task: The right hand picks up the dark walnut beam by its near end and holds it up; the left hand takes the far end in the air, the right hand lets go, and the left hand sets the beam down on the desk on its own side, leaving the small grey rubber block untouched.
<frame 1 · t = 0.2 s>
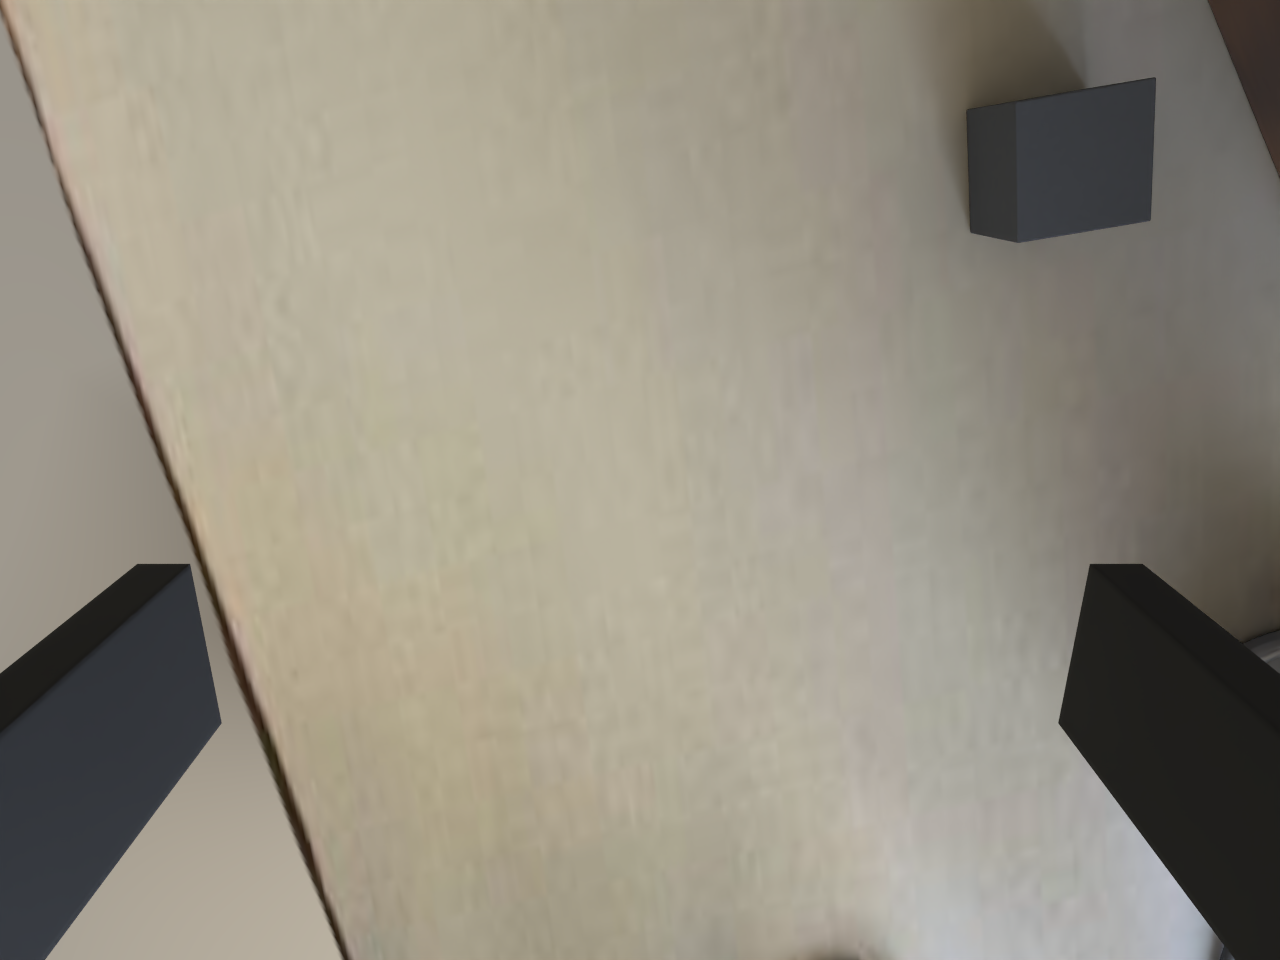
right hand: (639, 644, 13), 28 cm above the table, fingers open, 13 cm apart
grey rubber block: (1027, 162, 37), on the table
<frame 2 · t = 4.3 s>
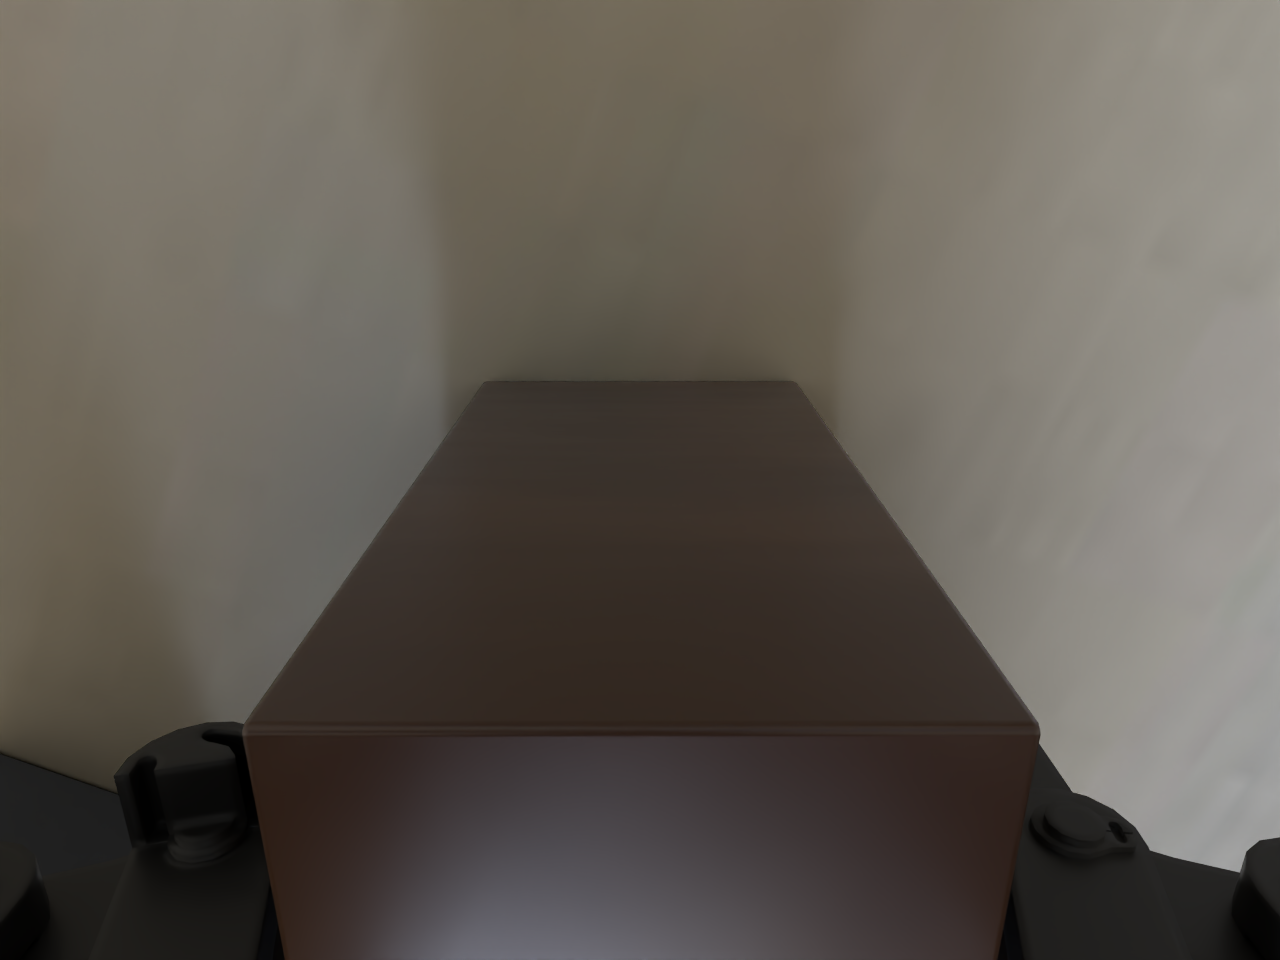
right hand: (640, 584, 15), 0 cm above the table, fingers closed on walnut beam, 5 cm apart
walnut beam: (639, 946, 18), on the table, touching right hand
grey rubber block: (89, 885, 17), on the table
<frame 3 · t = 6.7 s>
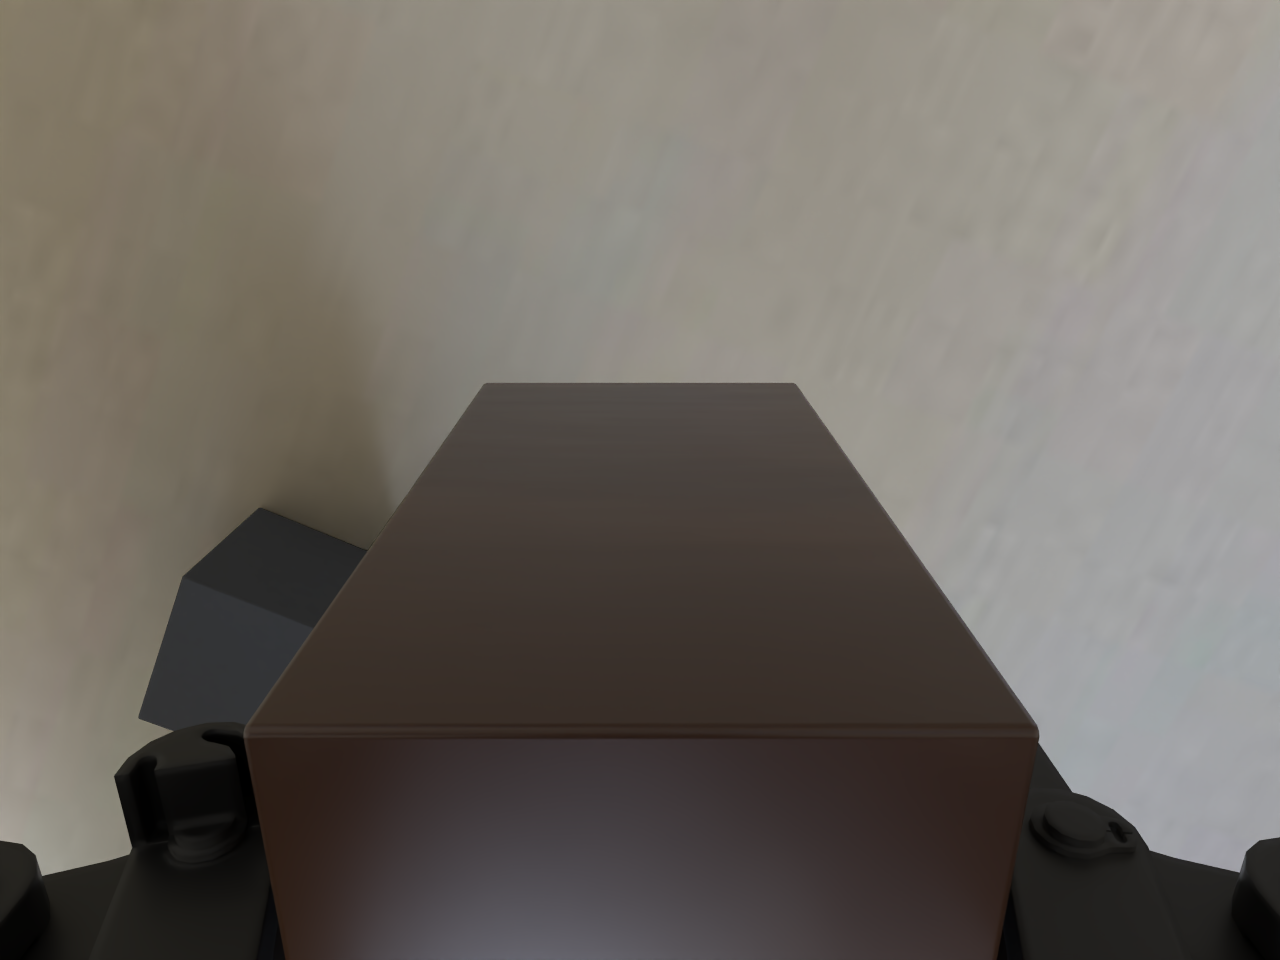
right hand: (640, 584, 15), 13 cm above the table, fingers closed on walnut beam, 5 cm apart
walnut beam: (639, 947, 18), point 12 cm above the table, touching right hand
grey rubber block: (310, 598, 29), on the table
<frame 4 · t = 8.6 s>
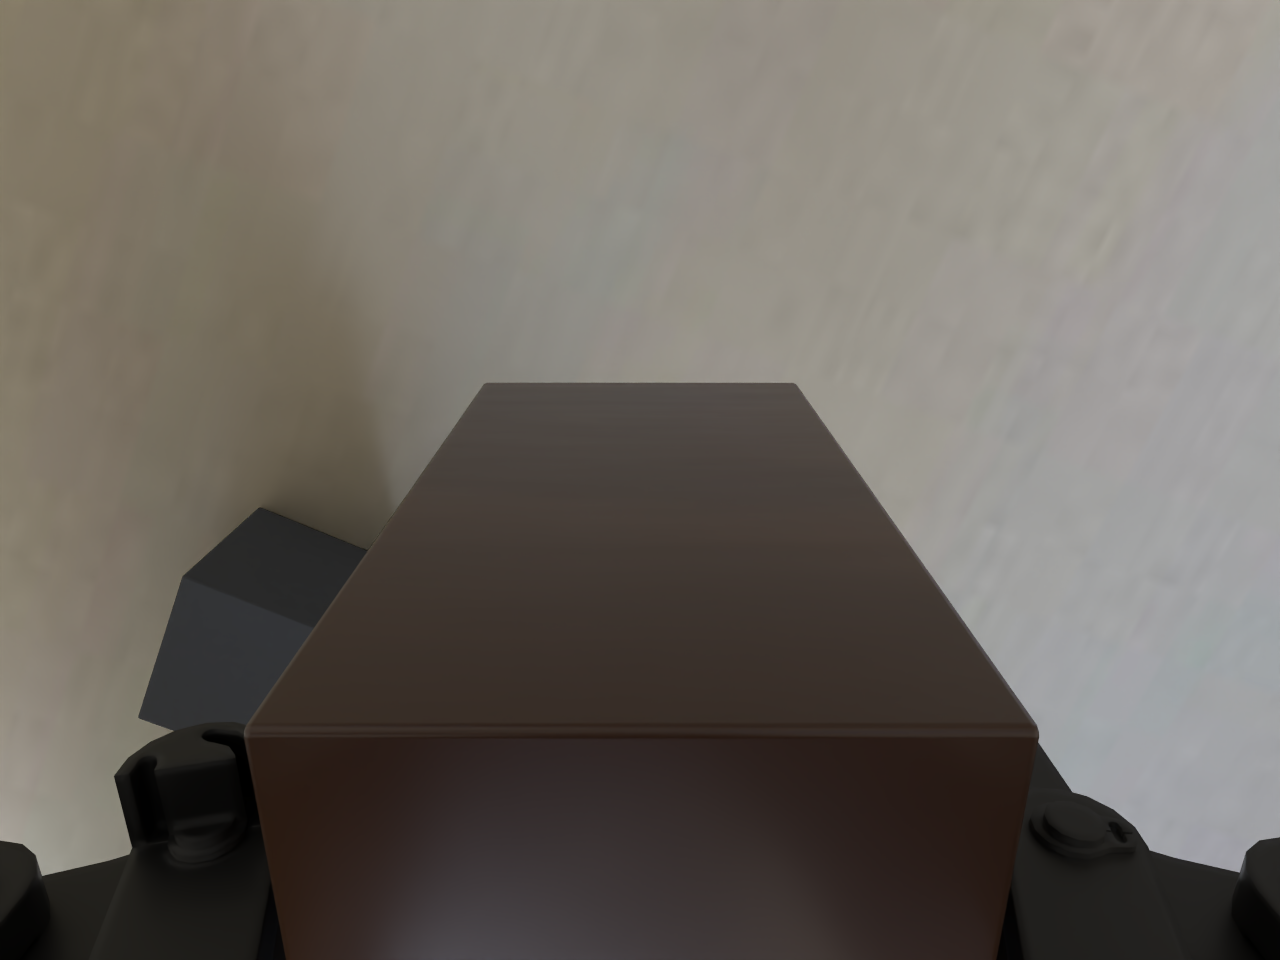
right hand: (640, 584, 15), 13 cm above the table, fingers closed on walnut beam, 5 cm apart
walnut beam: (639, 946, 18), point 12 cm above the table, touching right hand, left hand
grey rubber block: (310, 598, 29), on the table
when the right hand's fingers open (13 cm above the table, at t = 9.3 s): walnut beam stays where it is, held by the left hand.
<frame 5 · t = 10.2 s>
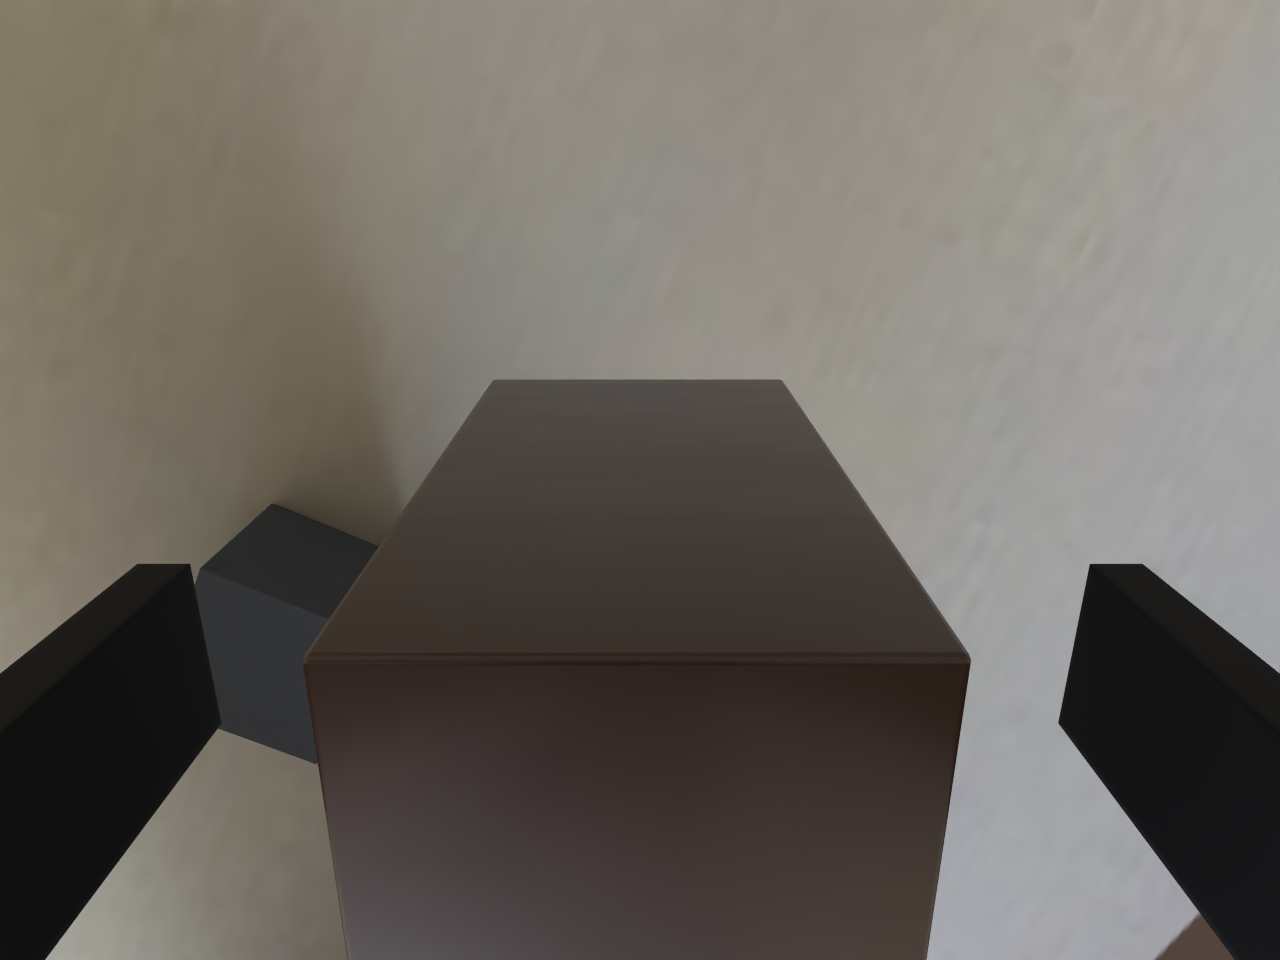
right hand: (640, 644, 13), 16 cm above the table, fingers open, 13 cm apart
walnut beam: (637, 916, 19), point 12 cm above the table, touching left hand
grey rubber block: (320, 592, 30), on the table
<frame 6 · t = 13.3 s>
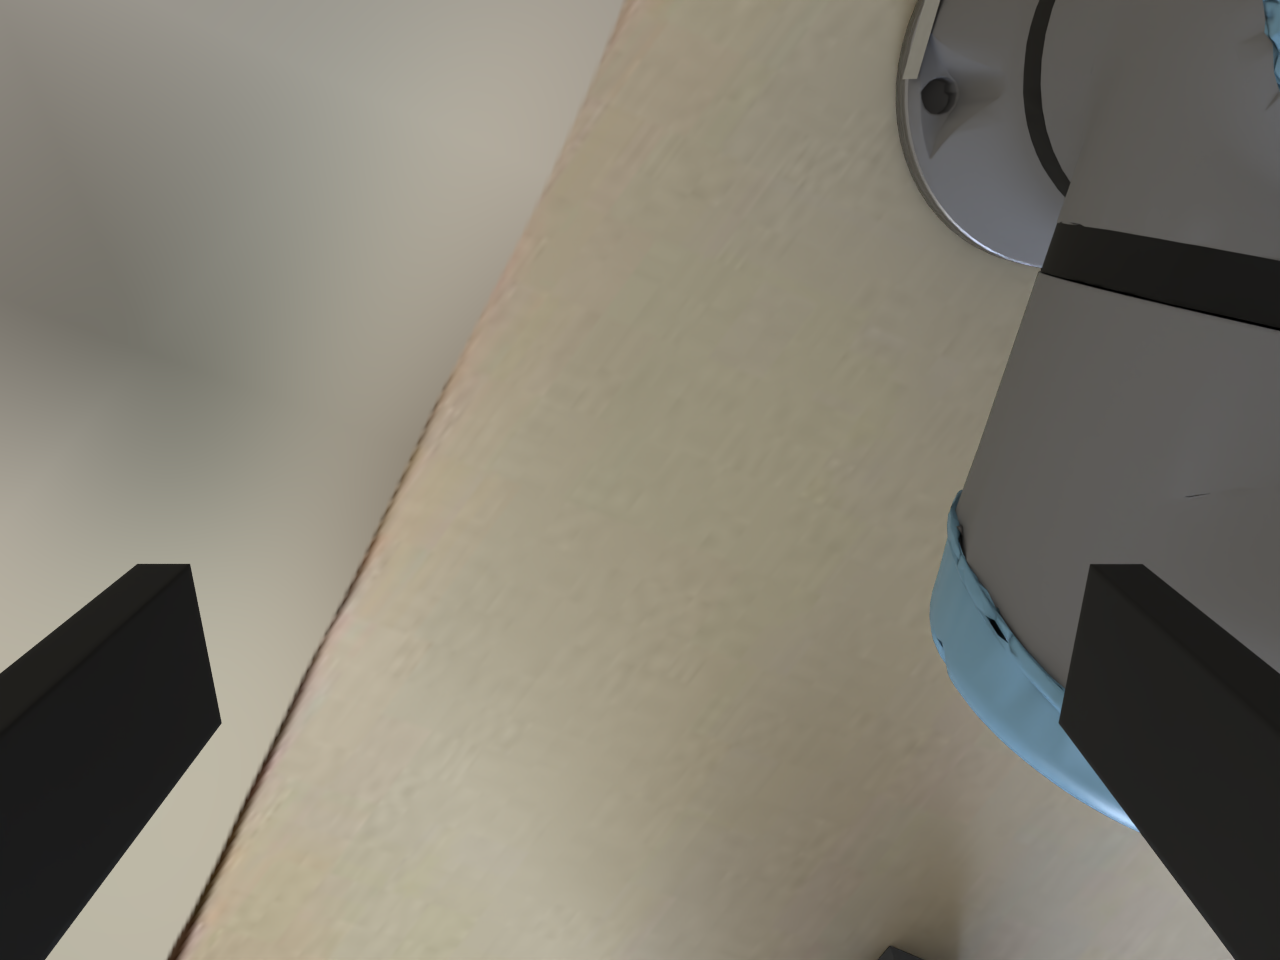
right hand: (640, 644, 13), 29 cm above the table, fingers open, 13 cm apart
when the left hand's fingers open (2 cm above the table, at t = 18.5 s): walnut beam drops 1 cm, on the table.
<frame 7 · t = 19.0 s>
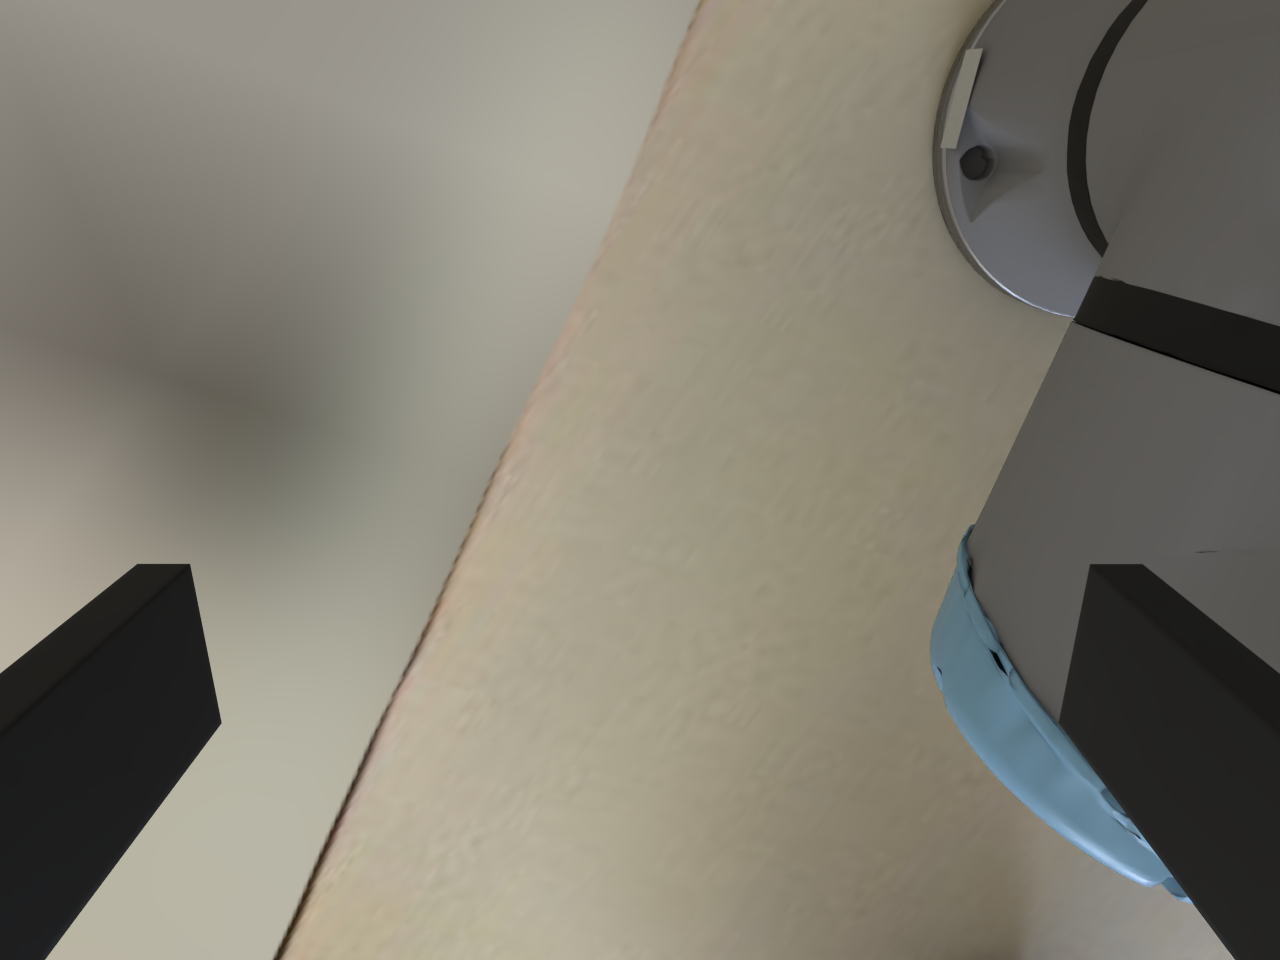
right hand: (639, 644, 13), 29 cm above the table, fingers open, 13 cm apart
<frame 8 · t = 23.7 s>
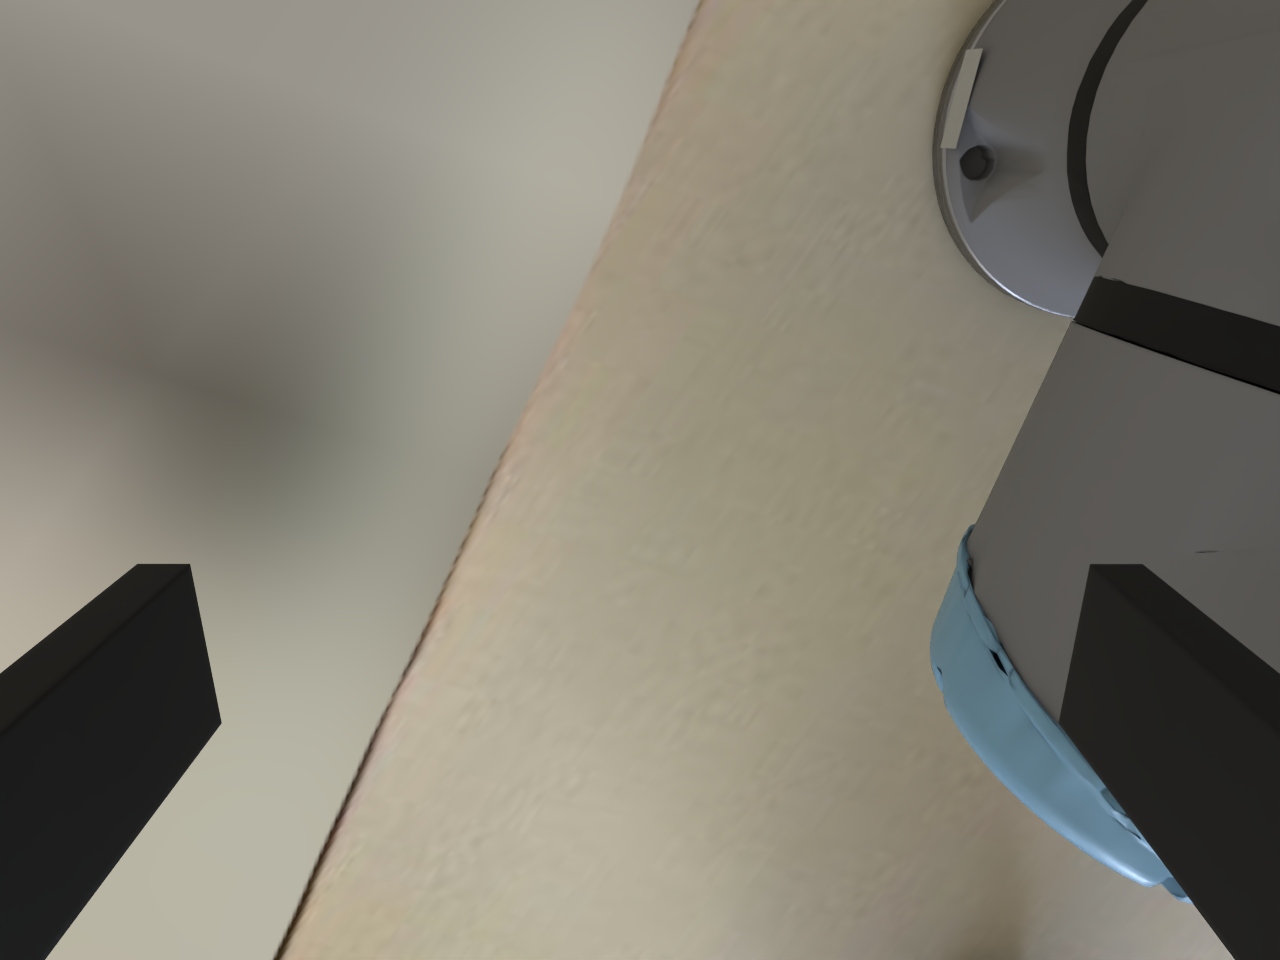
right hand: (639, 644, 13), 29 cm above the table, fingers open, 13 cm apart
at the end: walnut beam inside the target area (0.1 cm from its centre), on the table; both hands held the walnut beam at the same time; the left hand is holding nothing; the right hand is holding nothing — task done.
